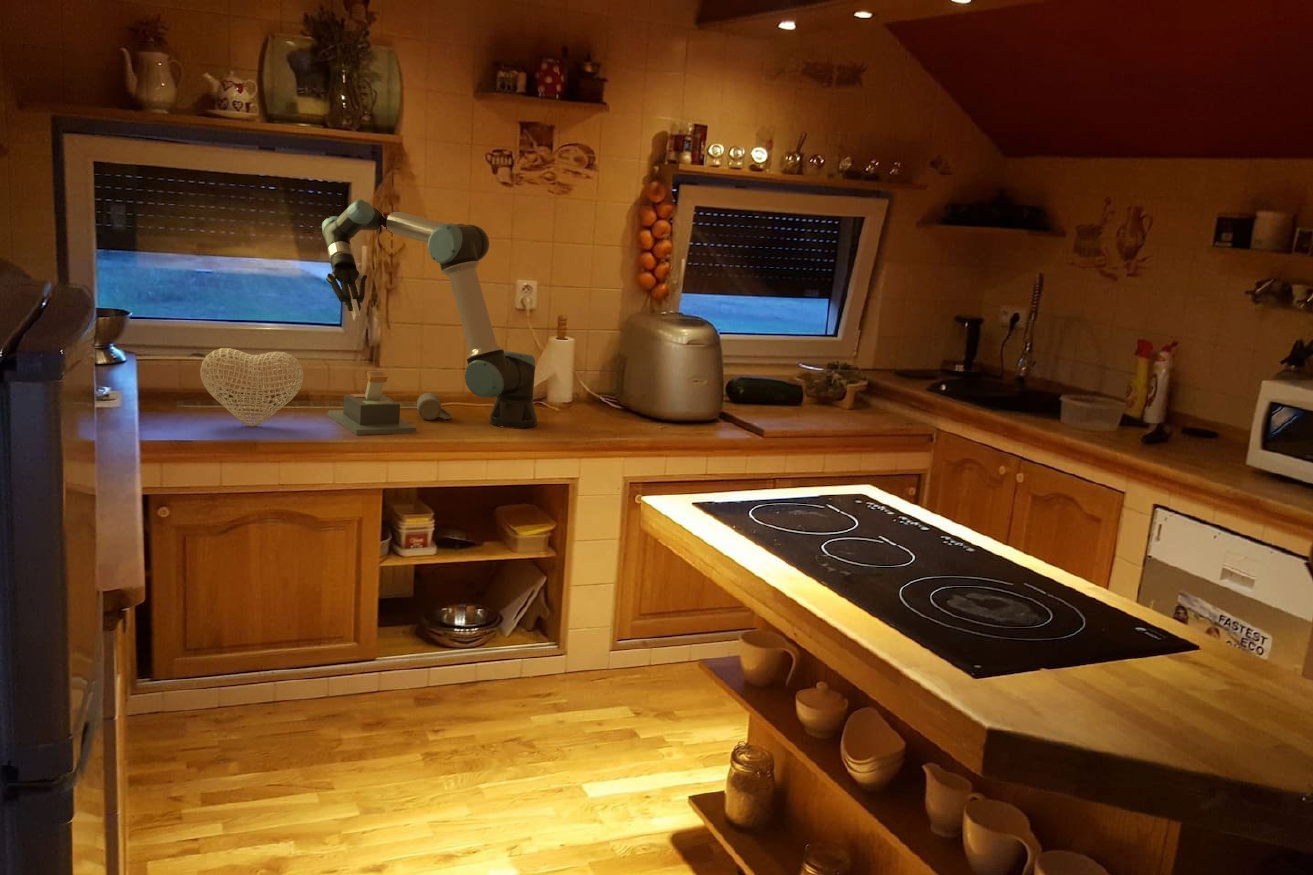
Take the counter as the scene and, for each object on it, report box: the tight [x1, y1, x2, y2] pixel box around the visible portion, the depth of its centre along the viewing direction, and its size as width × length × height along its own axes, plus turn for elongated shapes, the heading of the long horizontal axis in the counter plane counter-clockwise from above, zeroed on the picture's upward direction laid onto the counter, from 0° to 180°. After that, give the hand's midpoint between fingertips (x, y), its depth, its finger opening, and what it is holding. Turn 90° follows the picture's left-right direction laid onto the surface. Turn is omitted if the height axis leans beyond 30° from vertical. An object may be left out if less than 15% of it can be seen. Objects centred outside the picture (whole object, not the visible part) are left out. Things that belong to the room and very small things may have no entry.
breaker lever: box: [364, 370, 389, 400], centre depth 328 cm, size 3×5×9 cm, turn 124°
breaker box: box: [327, 393, 417, 436], centre depth 331 cm, size 28×18×8 cm, turn 33°
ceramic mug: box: [416, 392, 451, 421], centre depth 347 cm, size 11×8×8 cm
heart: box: [199, 347, 304, 428], centre depth 313 cm, size 28×16×22 cm, turn 96°
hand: (357, 318), depth 339 cm, fingers closed
